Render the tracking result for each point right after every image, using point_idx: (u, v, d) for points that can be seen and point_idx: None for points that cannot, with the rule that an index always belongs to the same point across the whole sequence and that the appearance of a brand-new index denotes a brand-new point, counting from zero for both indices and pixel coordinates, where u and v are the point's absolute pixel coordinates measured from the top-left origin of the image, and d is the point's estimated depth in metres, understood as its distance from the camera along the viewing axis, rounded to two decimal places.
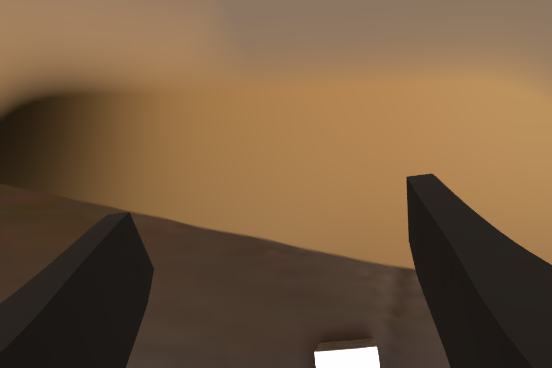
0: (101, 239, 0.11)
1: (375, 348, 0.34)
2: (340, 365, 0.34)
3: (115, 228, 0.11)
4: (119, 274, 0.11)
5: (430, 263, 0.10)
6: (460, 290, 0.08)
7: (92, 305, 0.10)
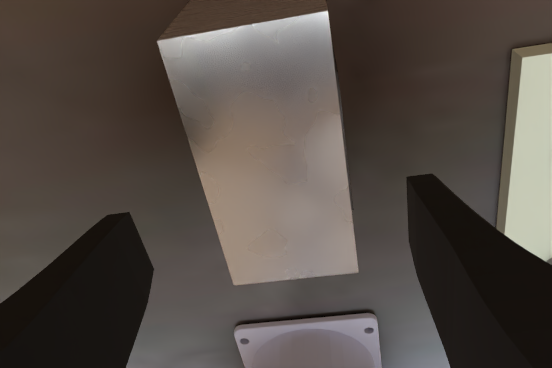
0: (101, 239, 0.11)
1: (324, 15, 0.12)
2: (229, 68, 0.13)
3: (115, 228, 0.11)
4: (119, 274, 0.11)
5: (430, 263, 0.10)
6: (460, 290, 0.08)
7: (92, 305, 0.10)
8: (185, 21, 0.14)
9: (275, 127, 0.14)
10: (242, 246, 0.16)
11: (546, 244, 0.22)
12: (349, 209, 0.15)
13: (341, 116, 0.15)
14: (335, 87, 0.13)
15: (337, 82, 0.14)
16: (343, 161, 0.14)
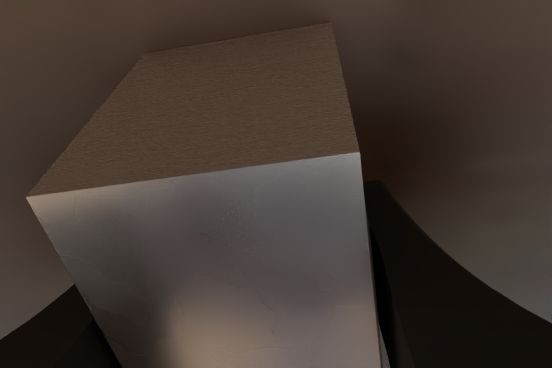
0: None
1: (351, 158, 0.06)
2: (169, 240, 0.07)
3: None
4: None
5: None
6: (388, 297, 0.08)
7: None
8: (98, 136, 0.08)
9: (258, 325, 0.08)
10: None
11: None
12: None
13: (372, 287, 0.09)
14: (368, 272, 0.07)
15: (368, 241, 0.08)
16: None
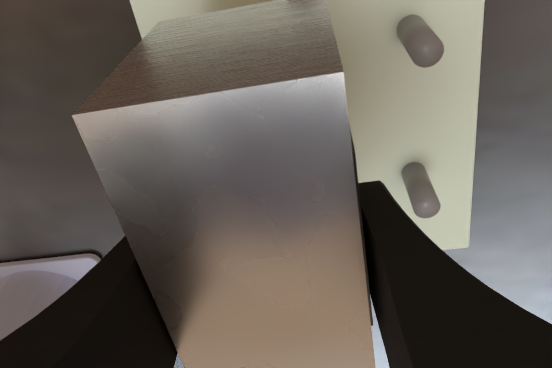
0: None
1: (337, 78, 0.07)
2: (188, 154, 0.08)
3: None
4: None
5: (372, 269, 0.10)
6: (387, 297, 0.08)
7: (146, 300, 0.10)
8: (126, 76, 0.09)
9: (261, 235, 0.09)
10: None
11: None
12: (369, 337, 0.11)
13: (359, 210, 0.10)
14: (353, 182, 0.08)
15: (354, 165, 0.09)
16: (362, 279, 0.10)
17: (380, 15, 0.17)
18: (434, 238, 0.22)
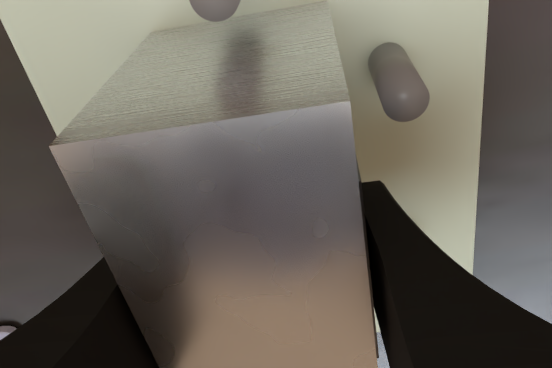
0: None
1: (343, 107, 0.07)
2: (179, 187, 0.07)
3: None
4: None
5: (372, 269, 0.10)
6: (387, 297, 0.08)
7: None
8: (112, 98, 0.08)
9: (258, 272, 0.08)
10: None
11: None
12: None
13: (365, 241, 0.09)
14: (359, 218, 0.08)
15: (360, 195, 0.09)
16: (369, 317, 0.09)
17: (345, 43, 0.12)
18: None
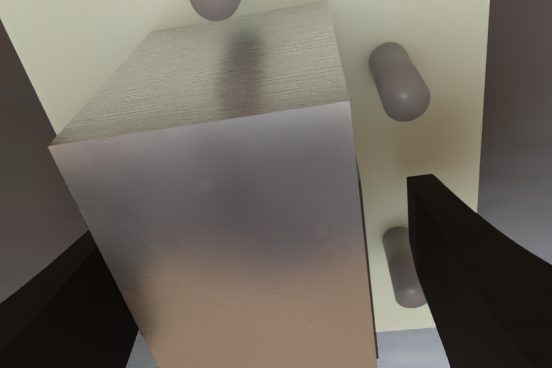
0: None
1: (342, 107, 0.07)
2: (178, 187, 0.07)
3: None
4: None
5: (430, 263, 0.10)
6: (460, 290, 0.08)
7: (92, 305, 0.10)
8: (111, 98, 0.08)
9: (258, 272, 0.08)
10: None
11: None
12: None
13: (364, 241, 0.09)
14: (359, 218, 0.08)
15: (359, 195, 0.09)
16: (368, 318, 0.09)
17: (345, 43, 0.12)
18: (426, 314, 0.17)
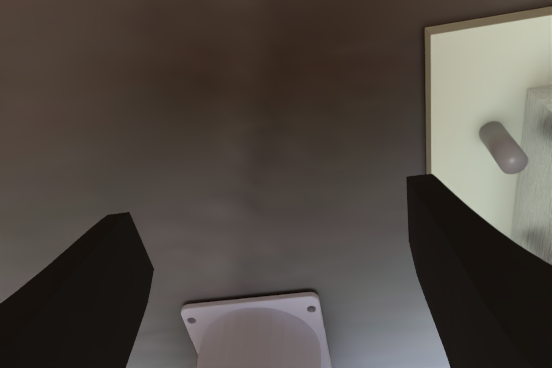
0: (101, 239, 0.11)
1: None
2: None
3: (115, 228, 0.11)
4: (119, 274, 0.11)
5: (430, 263, 0.10)
6: (460, 290, 0.08)
7: (92, 305, 0.10)
8: None
9: None
10: None
11: None
12: None
13: None
14: None
15: None
16: None
17: None
18: None
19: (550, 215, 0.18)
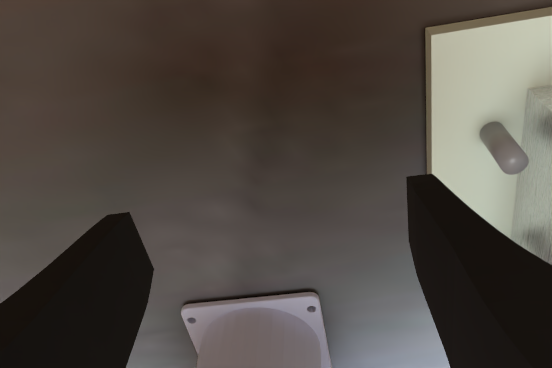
0: (101, 239, 0.11)
1: None
2: None
3: (115, 228, 0.11)
4: (119, 274, 0.11)
5: (430, 263, 0.10)
6: (460, 290, 0.08)
7: (92, 305, 0.10)
8: None
9: None
10: None
11: None
12: None
13: None
14: None
15: None
16: None
17: None
18: None
19: (550, 216, 0.18)
